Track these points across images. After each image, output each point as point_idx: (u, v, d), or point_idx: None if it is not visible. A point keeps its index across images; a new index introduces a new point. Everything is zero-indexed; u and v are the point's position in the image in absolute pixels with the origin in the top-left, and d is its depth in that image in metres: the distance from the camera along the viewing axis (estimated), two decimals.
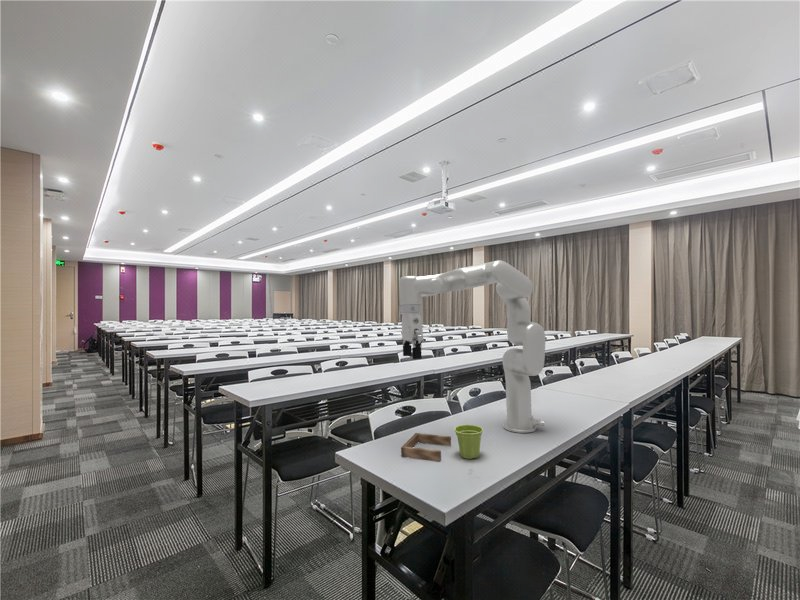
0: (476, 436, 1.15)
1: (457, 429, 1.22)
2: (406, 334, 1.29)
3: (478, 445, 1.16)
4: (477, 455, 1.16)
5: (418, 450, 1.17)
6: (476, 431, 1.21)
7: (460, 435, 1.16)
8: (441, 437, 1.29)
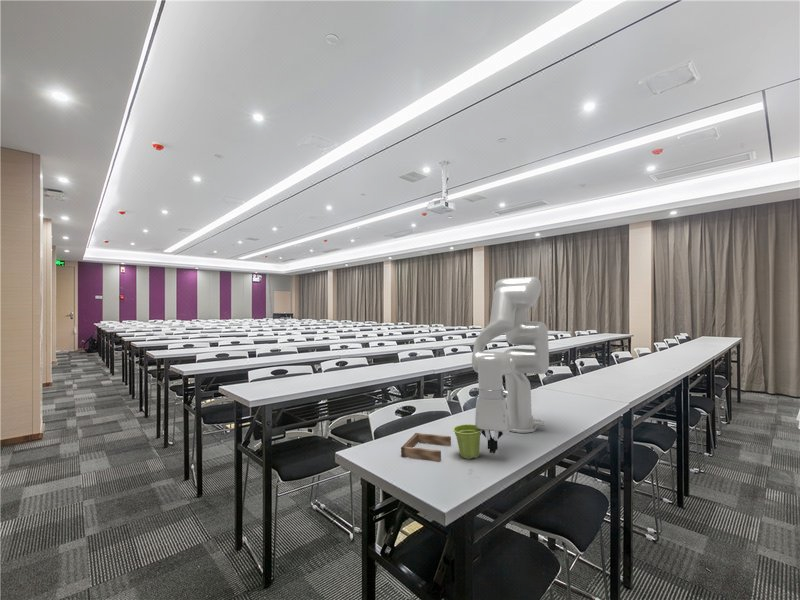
0: (475, 435, 1.15)
1: (456, 429, 1.22)
2: (494, 423, 1.14)
3: (477, 444, 1.16)
4: (477, 454, 1.16)
5: (418, 450, 1.17)
6: None
7: (459, 435, 1.16)
8: (441, 437, 1.29)
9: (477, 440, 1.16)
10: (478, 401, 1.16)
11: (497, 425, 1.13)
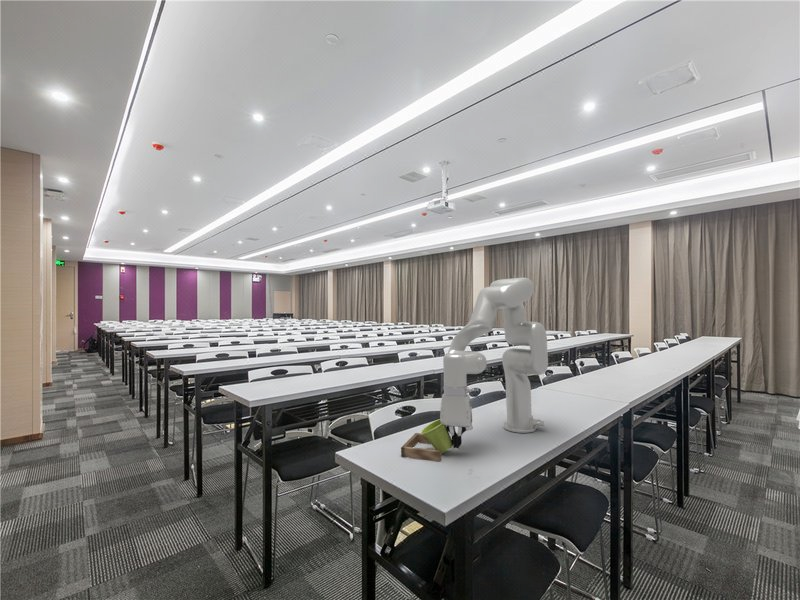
0: (440, 428, 1.19)
1: (425, 431, 1.24)
2: (458, 419, 1.18)
3: (447, 435, 1.20)
4: (450, 445, 1.19)
5: (418, 450, 1.17)
6: None
7: (427, 435, 1.19)
8: None
9: (444, 431, 1.19)
10: (443, 398, 1.20)
11: (460, 421, 1.17)
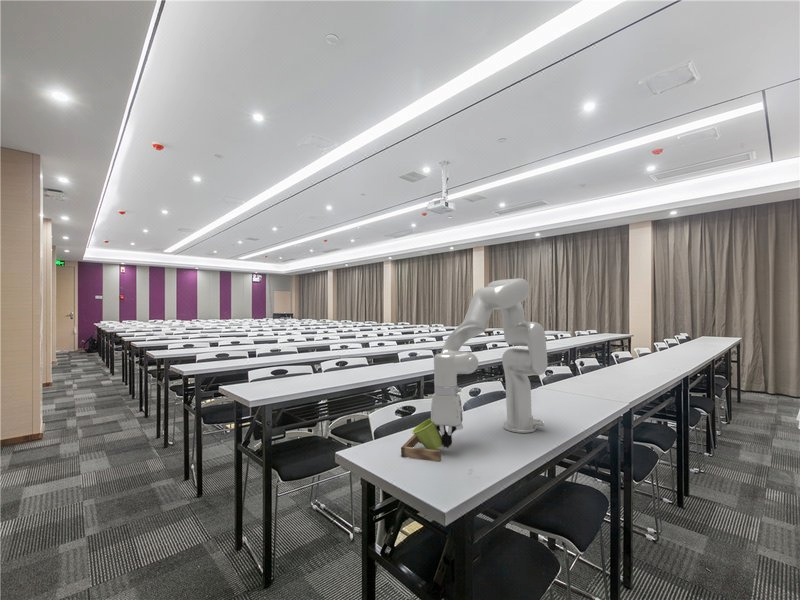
0: (431, 427, 1.20)
1: (416, 430, 1.26)
2: (448, 418, 1.19)
3: (437, 434, 1.21)
4: (441, 444, 1.21)
5: (418, 450, 1.17)
6: None
7: (417, 434, 1.20)
8: None
9: (435, 431, 1.21)
10: (433, 397, 1.21)
11: (450, 420, 1.19)
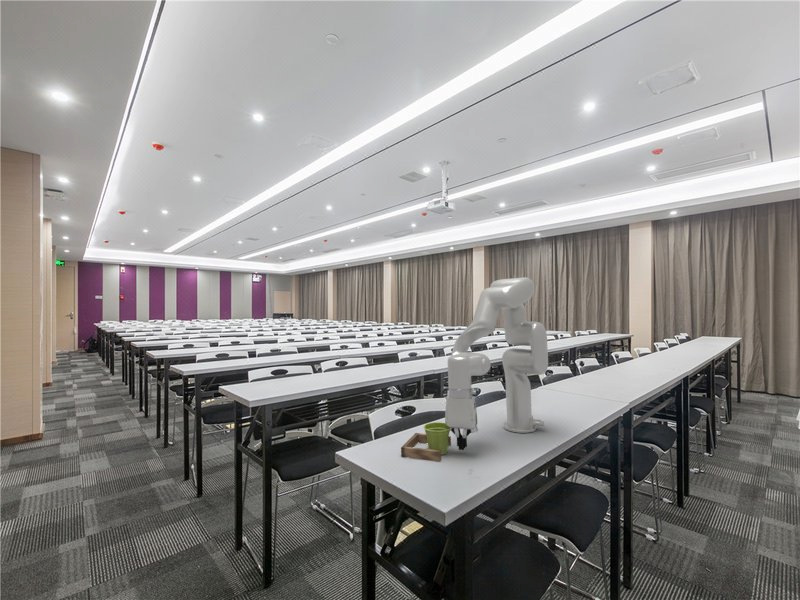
0: (444, 433, 1.19)
1: (426, 427, 1.25)
2: (462, 421, 1.18)
3: (446, 442, 1.20)
4: (445, 451, 1.20)
5: (418, 450, 1.17)
6: None
7: (429, 432, 1.19)
8: None
9: (446, 438, 1.20)
10: (447, 400, 1.20)
11: (465, 423, 1.17)
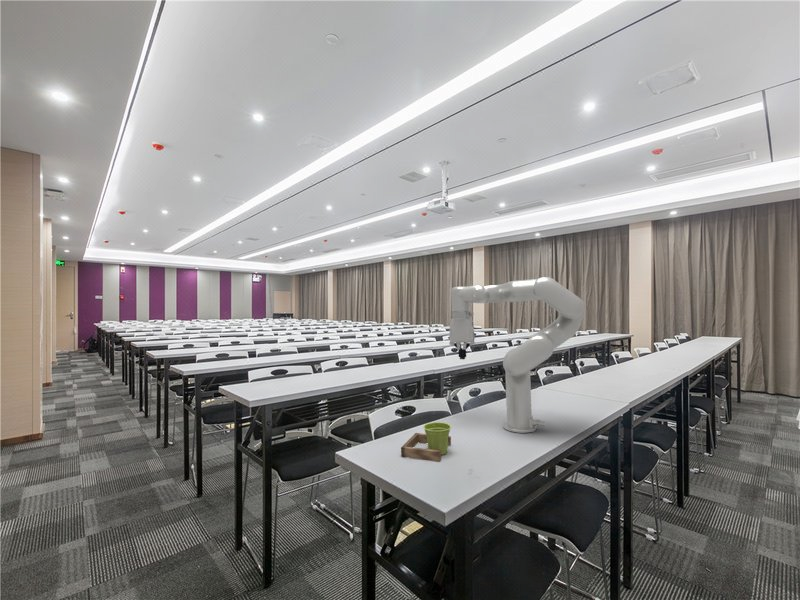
0: (444, 433, 1.19)
1: (426, 427, 1.25)
2: (463, 336, 1.51)
3: (446, 442, 1.20)
4: (445, 451, 1.20)
5: (418, 450, 1.17)
6: (444, 428, 1.25)
7: (429, 432, 1.20)
8: None
9: (446, 437, 1.20)
10: (451, 321, 1.53)
11: (465, 337, 1.51)
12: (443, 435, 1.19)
